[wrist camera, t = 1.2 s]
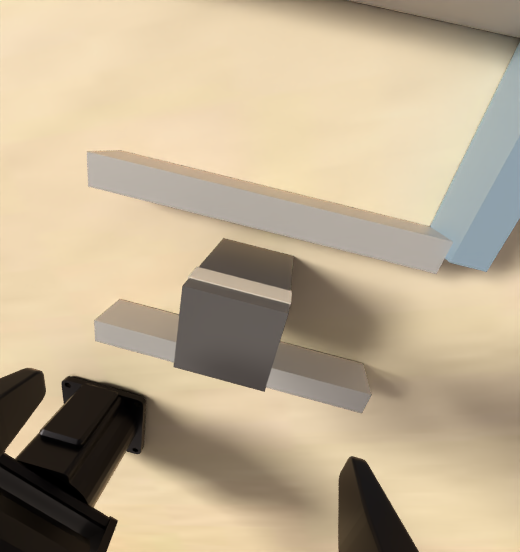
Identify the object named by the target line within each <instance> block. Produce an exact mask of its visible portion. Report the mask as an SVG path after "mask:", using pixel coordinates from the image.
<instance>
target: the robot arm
mask: <svg viewBox="0 0 520 552" xmlns="http://www.w3.org/2000/svg"><path fill="white" fill-rule="evenodd" d="M62 392H63V400H64V405H63V406H62V407H61V408H60V409H59V410H58V411H57V412H56V413H55V415H54V416H53V417H52V418H51V419H50V420H49V421H48V422H47V423H46V424H45V425H44V426H43V428H42V429H41V430H40V432H39V433H38V434H37V435H36V437H35V438H34V439H33V440H32V441H31V442H30V443H29V444H28V445H27V446H26V447H25V449H24V450H23V451H22V452H21V453H20V454H19V455H18V456H17V457H16V458H15V459H14V458H12V457H10V456H9V455H7V454H6V453H4V452H5V450H6V448H7V447H8V446H9V444H10V443H11V442H12V440H13V439H14V438H15V436H16V435H17V434H18V432H19V431H20V430H21V428H22V427H23V426H24V424H25V423H26V422H27V420H28V419H29V417H30V416H31V415H32V413H33V412H34V411H35V409H36V408H37V407H38V405H39V404H40V403H41V401H42V400H43V398H44V396H45V393H46V387H45V380H44V374H43V372H42V371H40V370H36V369H33V368H25V369H22V370H19V371H17V372H15V373H12V374H10V375H7V376H5V377H2V378H0V552H106V551H107V549H108V546H109V543H110V541H111V538H112V535H113V533H114V530H115V527H116V525H117V522H118V520H116V519H115V518H113V517H111V516H110V517H108V516H106V515H104V514H103V513H101V512H100V511H98V510H96V509H95V508H93V507H94V506H95V504H96V502H97V500H98V499H99V497H100V495H101V494H102V492H103V490H104V488H105V487H106V485H107V483H108V481H109V480H110V478H111V476H112V475H113V473H114V471H115V469H116V468H117V466H118V464H119V463H120V461H121V459H122V457H123V456H124V454H125V452H126V451H127V452H131V453H134V454H140V453H141V451H142V449H143V445H144V428H145V411H146V400H145V398H143V397H142V396H139V395H136V394H132V393H129V392H125V391H121V390H118V389H114V388H111V387H107V386H103V385H100V384H96V383H93V382H89V381H85V380H82V379H78V378H74V377H70V376H68V377H66V378H65V379H64V380H63V381H62ZM338 546H339V552H419V551H418V549H417V548H416V546H415V544H414V542H413V541H412V539H411V537H410V536H409V534H408V532H407V530H406V529H405V527H404V525H403V524H402V522H401V520H400V518H399V517H398V515H397V513H396V512H395V510H394V508H393V506H392V505H391V503H390V501H389V500H388V498H387V496H386V494H385V493H384V491H383V489H382V487H381V486H380V484H379V482H378V481H377V479H376V477H375V475H374V474H373V472H372V470H371V469H370V467H369V465H368V464H367V462H366V461H365V460H363V459H360V458H357V457H353V456H351V457H349V458H348V460H347V462H346V464H345V465H344V467H343V469H342V471H341V473H340V476H339V517H338Z"/></svg>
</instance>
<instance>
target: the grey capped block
mask: <svg viewBox="0 0 520 552" xmlns="http://www.w3.org/2000/svg"><path fill="white" fill-rule="evenodd" d="M293 260H294V256H292V255H288V254H284V253H280V252H276V251H272V250H268V249H264V248H260V247H256V246H252V245H248V244H244V243H240V242H236V241H233V240H229V239H225V238H223V239H222V241H221V242H220V243H219V244H218V245H217V246H216V248H215V249H214V250H213V251H212V252H211V253H210V255H209V256H208V257H207V258H206V259H205V260H204V261H203V263H202V264H201V265H200V266H199V267H196V268H195V269H194V270H193V272H192V273H191V274H190V275H189V276H188V280H187V281H186V282H185V284H184V285H183V286H182V295H181V304H180V313H179V322H178V331H177V340H176V349H175V358H174V367H176V368H179V369H183V370H187V371H190V372H194V373H198V374H201V375H205V376H209V377H212V378H216V379H220V380H223V381H227V382H231V383H234V384H238V385H242V386H246V387H249V388H253V389H257V390H260V391H264V392H265V388H266V385H267V382H268V379H269V375H270V372H271V369H272V366H273V362H274V359H275V356H276V353H277V349H278V346H279V343H280V340H281V336H282V333H283V330H284V327H285V323H286V320H287V317H288V313H289V308H290V305H291V297H292V291H291V281H292V271H293Z"/></svg>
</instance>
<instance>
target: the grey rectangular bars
mask: <svg viewBox="0 0 520 552" xmlns="http://www.w3.org/2000/svg"><path fill="white" fill-rule="evenodd" d="M349 1H353V2H358V3H362V4H367V5H371V6H376V7H381V8H385V9H390V10H394V11H399V12H403V13H408V14H412V15H417V16H422V17H426V18H431V19H435V20H440V21H444V22H449V23H453V24H458V25H463V26H467V27H472V28H476V29H481V30H485V31H490V32H494V33H499V34H504V35H508V36H513V37H517V38H520V0H349ZM87 167H88V186H89V187H93V188H97V189H101V190H105V191H109V192H112V193H116V194H120V195H124V196H128V197H132V198H136V199H140V200H144V201H148V202H152V203H156V204H160V205H164V206H168V207H172V208H176V209H180V210H184V211H188V212H192V213H196V214H200V215H204V216H208V217H212V218H216V219H220V220H224V221H228V222H232V223H236V224H240V225H244V226H248V227H252V228H256V229H260V230H264V231H268V232H272V233H276V234H280V235H283V236H287V237H291V238H295V239H299V240H303V241H307V242H311V243H315V244H319V245H323V246H327V247H331V248H335V249H339V250H343V251H347V252H351V253H355V254H359V255H363V256H367V257H371V258H375V259H379V260H383V261H387V262H391V263H395V264H399V265H403V266H407V267H411V268H415V269H419V270H423V271H427V272H431V273H435V274H437V272H438V270H439V268H440V266H441V264H442V262H443V261H444V259H446V260H447V261H449V262H450V263H453V264H457V265H461V266H465V267H469V268H473V269H477V270H481V271H485V272H487V270H488V269H489V267H490V266H491V264H492V262H493V261H494V259H495V257H496V256H497V254H498V253H499V251H500V249H501V248H502V246H503V244H504V243H505V241H506V240H507V238H508V236H509V235H510V233H511V232H512V230H513V228H514V227H515V225H516V223H517V222H518V220H519V219H520V42H519V44H518V46H517V48H516V50H515V52H514V54H513V57H512V59H511V61H510V63H509V65H508V67H507V69H506V71H505V73H504V75H503V77H502V79H501V81H500V83H499V85H498V87H497V89H496V92H495V94H494V96H493V98H492V100H491V102H490V104H489V106H488V108H487V110H486V112H485V114H484V116H483V118H482V120H481V122H480V124H479V127H478V129H477V131H476V133H475V135H474V137H473V139H472V141H471V143H470V145H469V147H468V149H467V151H466V153H465V155H464V157H463V159H462V162H461V164H460V166H459V168H458V170H457V172H456V174H455V176H454V178H453V180H452V182H451V184H450V186H449V188H448V190H447V192H446V194H445V197H444V199H443V201H442V203H441V205H440V207H439V209H438V211H437V213H436V215H435V217H434V219H433V221H432V223H431V225H430V226H426V225H422V224H418V223H414V222H410V221H406V220H402V219H397V218H393V217H389V216H385V215H381V214H377V213H373V212H369V211H365V210H361V209H357V208H353V207H349V206H345V205H340V204H336V203H332V202H328V201H324V200H320V199H316V198H312V197H308V196H304V195H300V194H296V193H292V192H288V191H283V190H279V189H275V188H271V187H267V186H263V185H259V184H255V183H251V182H247V181H243V180H239V179H235V178H231V177H227V176H222V175H218V174H214V173H210V172H206V171H202V170H198V169H194V168H190V167H186V166H182V165H178V164H174V163H170V162H165V161H161V160H157V159H153V158H149V157H145V156H141V155H137V154H133V153H129V152H125V151H121V150H115V151H87ZM178 322H179V315H178V314H174V313H170V312H167V311H163V310H159V309H155V308H151V307H148V306H144V305H140V304H136V303H133V302H129V301H125V300H121V299H119V300H118V301H117V302H116V303H114V304H113V305H112V306H111V307H110V308H108V309H107V310H106V311H105V312H104V313H102V314H101V315H100V316H99V317H98V318H96V319H95V320H94V325H95V341H97V342H101V343H104V344H108V345H112V346H116V347H119V348H123V349H127V350H130V351H134V352H138V353H141V354H145V355H149V356H152V357H156V358H160V359H163V360H167V361H171V362H174V358H175V349H176V340H177V331H178ZM266 387H267V388H270V389H274V390H278V391H281V392H285V393H289V394H292V395H296V396H300V397H303V398H307V399H311V400H314V401H318V402H322V403H325V404H329V405H333V406H336V407H340V408H344V409H348V410H351V411H355V412H359V413H362V412H363V410H364V408H365V406H366V404H367V403H368V401H369V399H370V397H371V395H372V394H371V391H370V387H369V383H368V379H367V376H366V372H365V368H364V364H363V363H359V362H355V361H351V360H348V359H344V358H340V357H336V356H333V355H329V354H325V353H321V352H317V351H314V350H310V349H306V348H302V347H299V346H295V345H291V344H287V343H283V342H280V343H279V346H278V349H277V353H276V356H275V359H274V362H273V366H272V369H271V372H270V375H269V379H268V382H267V385H266Z"/></svg>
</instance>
